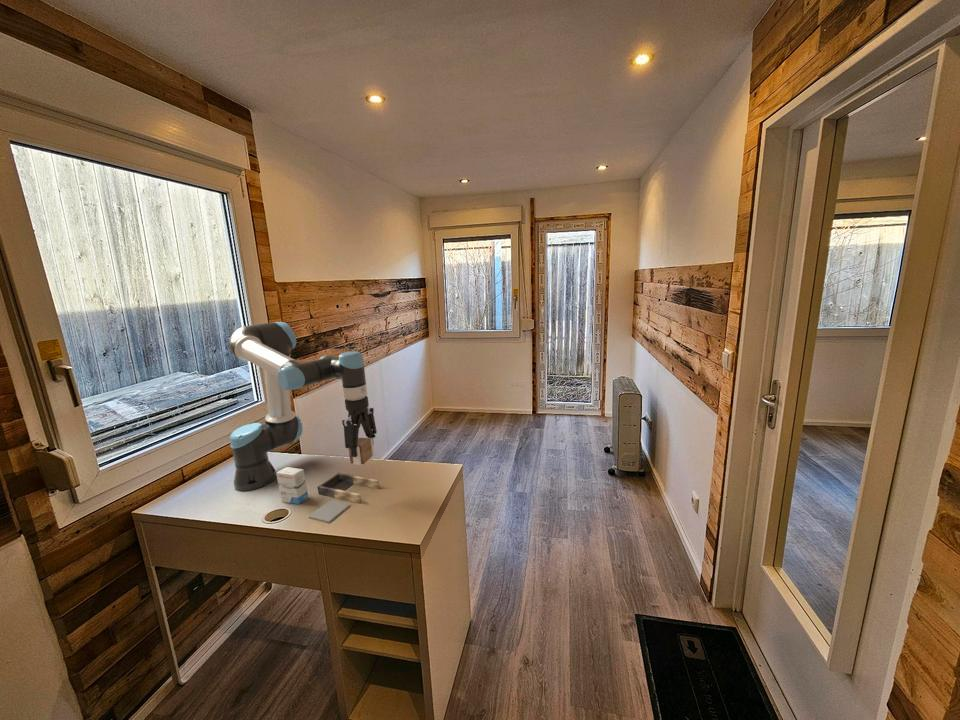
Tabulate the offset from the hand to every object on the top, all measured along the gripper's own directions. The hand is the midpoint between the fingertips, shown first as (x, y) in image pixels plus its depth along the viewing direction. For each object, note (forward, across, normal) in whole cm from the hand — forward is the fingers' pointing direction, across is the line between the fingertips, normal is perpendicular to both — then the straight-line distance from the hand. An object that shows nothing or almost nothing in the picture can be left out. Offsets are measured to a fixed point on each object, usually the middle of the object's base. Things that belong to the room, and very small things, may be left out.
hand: (364, 459), depth 132 cm
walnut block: (0, 0, +1) cm, 1 cm away
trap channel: (+16, +3, +12) cm, 21 cm away
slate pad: (+16, -10, +9) cm, 21 cm away
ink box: (+17, -7, +28) cm, 34 cm away
